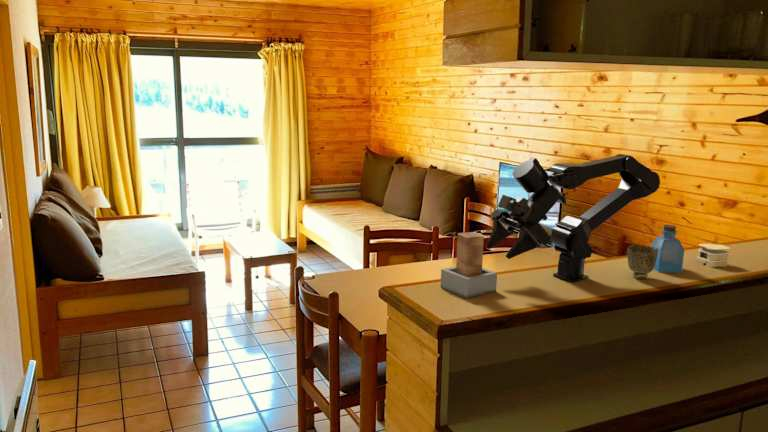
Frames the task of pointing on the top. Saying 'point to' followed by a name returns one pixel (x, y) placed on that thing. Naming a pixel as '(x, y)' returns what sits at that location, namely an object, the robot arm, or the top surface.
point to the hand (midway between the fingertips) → (496, 252)
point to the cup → (641, 260)
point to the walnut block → (469, 254)
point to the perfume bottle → (668, 251)
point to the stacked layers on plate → (714, 254)
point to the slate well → (468, 282)
